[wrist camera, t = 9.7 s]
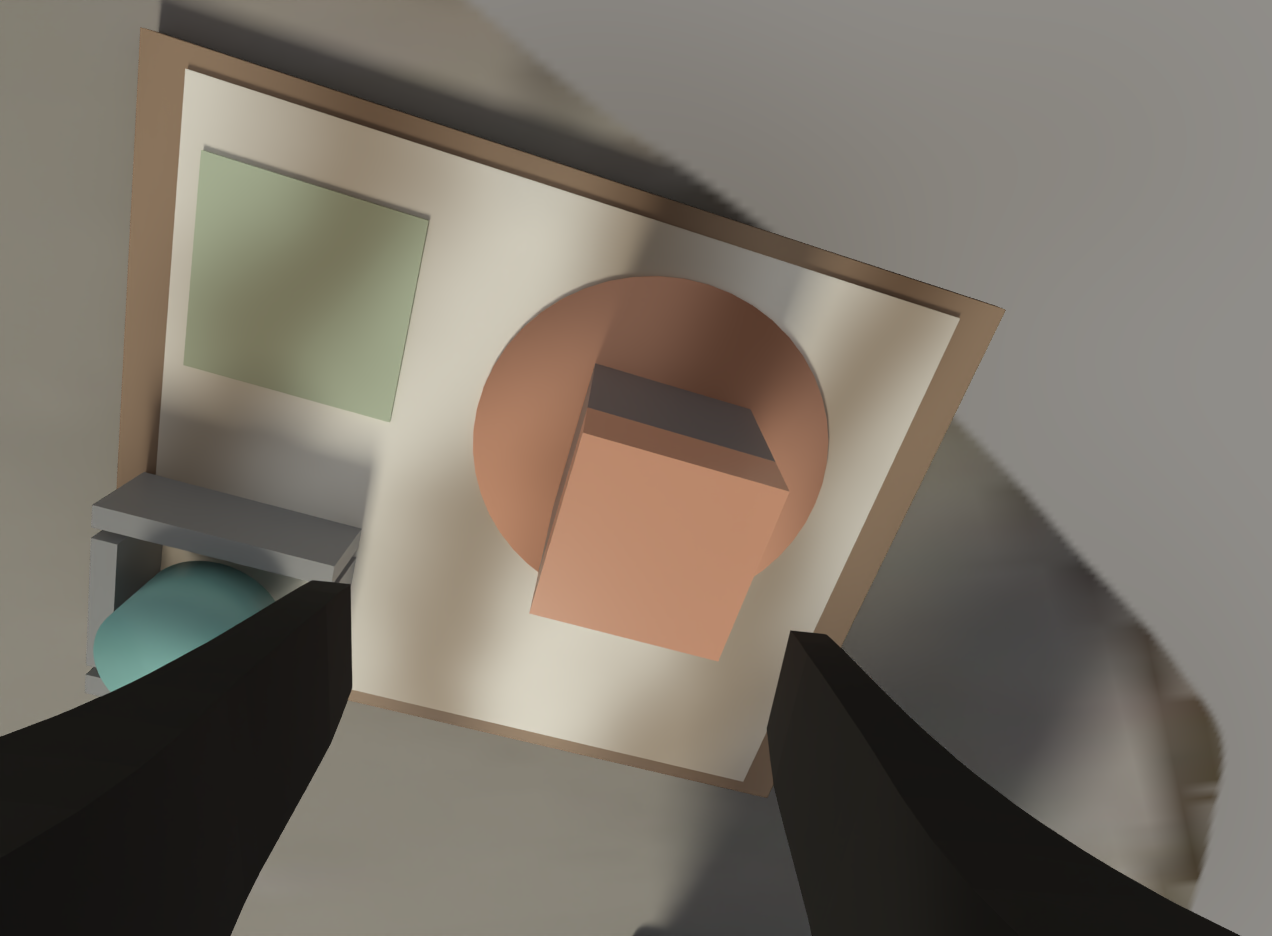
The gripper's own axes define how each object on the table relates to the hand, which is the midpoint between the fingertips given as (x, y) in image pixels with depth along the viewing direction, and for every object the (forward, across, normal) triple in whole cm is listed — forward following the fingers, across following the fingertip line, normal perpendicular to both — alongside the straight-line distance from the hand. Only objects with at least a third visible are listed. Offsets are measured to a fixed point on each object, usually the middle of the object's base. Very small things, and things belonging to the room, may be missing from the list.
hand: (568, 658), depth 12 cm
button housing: (+8, +9, +4) cm, 13 cm away
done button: (+6, +9, +5) cm, 12 cm away
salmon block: (+8, -1, -1) cm, 8 cm away
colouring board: (+8, +2, +1) cm, 9 cm away
